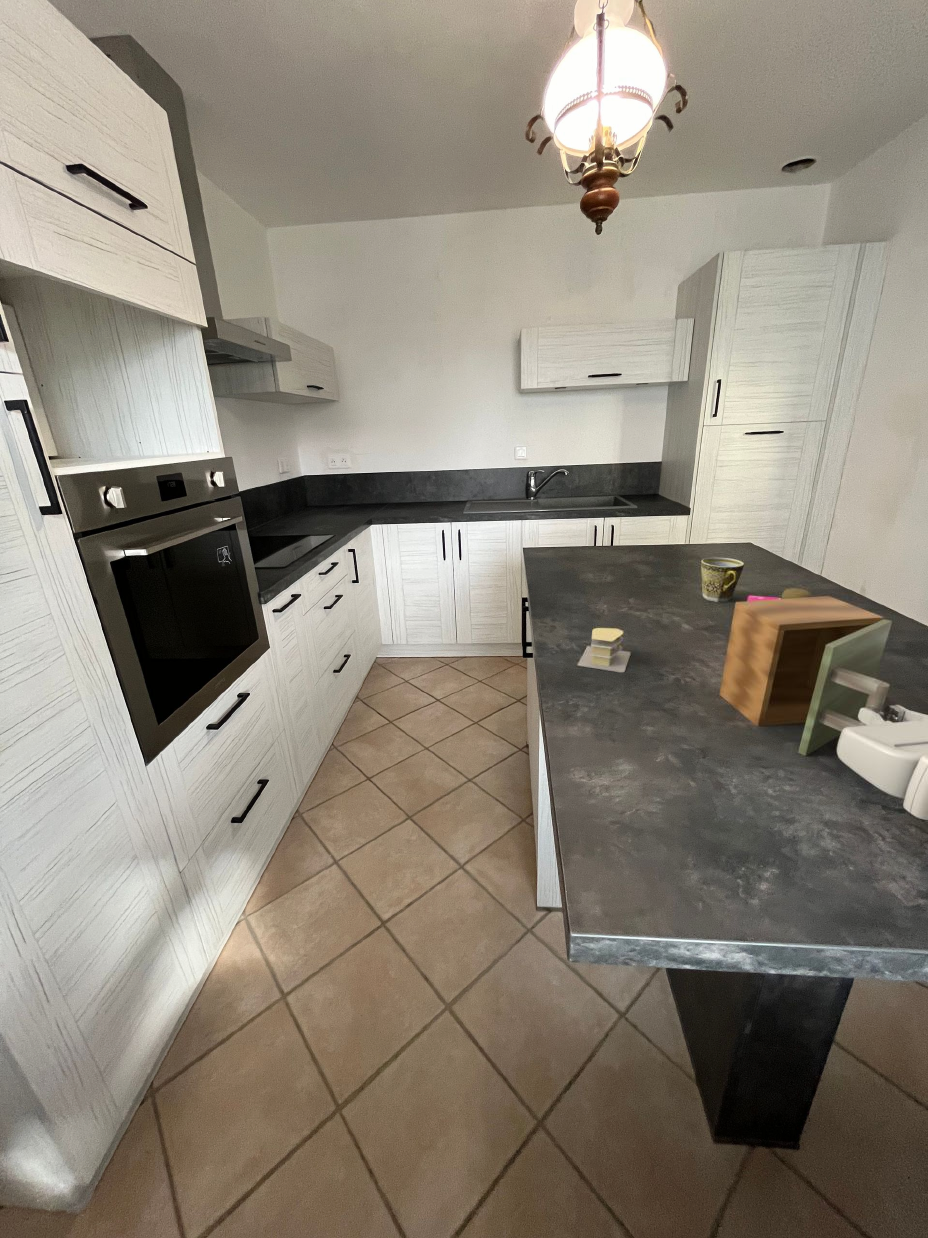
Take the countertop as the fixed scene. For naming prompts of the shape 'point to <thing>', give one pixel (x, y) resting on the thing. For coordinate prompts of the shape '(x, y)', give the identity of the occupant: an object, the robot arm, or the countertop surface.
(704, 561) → the ceramic cup
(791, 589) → the olive rounded oblong
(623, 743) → the countertop surface
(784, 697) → the cupboard
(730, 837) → the countertop surface
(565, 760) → the countertop surface
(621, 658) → the stacked layers on plate
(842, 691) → the door
